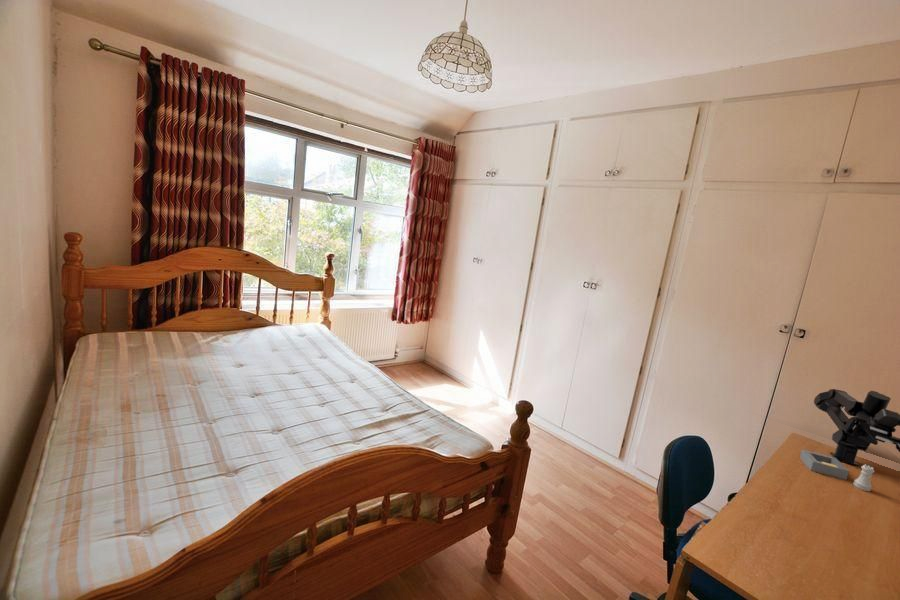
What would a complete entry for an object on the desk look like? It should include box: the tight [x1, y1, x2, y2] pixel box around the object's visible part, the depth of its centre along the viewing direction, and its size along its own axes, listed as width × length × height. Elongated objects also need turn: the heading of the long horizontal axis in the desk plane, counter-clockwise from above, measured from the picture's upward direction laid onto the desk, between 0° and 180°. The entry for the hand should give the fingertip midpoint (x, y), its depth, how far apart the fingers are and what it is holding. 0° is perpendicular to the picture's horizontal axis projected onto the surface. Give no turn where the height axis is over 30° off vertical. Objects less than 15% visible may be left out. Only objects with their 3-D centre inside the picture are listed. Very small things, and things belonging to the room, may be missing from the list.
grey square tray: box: [799, 448, 850, 481], centre depth 146 cm, size 10×10×4 cm
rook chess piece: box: [852, 464, 876, 492], centre depth 136 cm, size 4×4×8 cm
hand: (894, 449), depth 130 cm, fingers open, 9 cm apart
